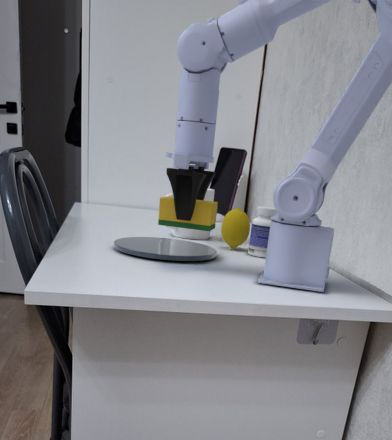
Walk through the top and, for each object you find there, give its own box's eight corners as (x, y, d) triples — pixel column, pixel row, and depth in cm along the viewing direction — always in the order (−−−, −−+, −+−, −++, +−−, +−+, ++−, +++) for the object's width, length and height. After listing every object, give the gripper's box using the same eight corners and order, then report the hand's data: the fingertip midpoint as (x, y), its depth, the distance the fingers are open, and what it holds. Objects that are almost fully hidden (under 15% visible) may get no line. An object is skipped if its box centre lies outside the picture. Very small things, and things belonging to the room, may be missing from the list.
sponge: (215, 228, 85) (217, 202, 84) (209, 231, 81) (212, 203, 80) (166, 222, 87) (168, 196, 85) (157, 224, 82) (159, 197, 81)
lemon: (236, 246, 111) (241, 206, 108) (252, 251, 106) (258, 210, 104) (213, 246, 108) (218, 205, 105) (229, 251, 103) (234, 208, 101)
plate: (223, 252, 103) (224, 245, 102) (204, 268, 86) (205, 260, 85) (132, 239, 106) (133, 233, 105) (97, 253, 89) (97, 245, 88)
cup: (217, 239, 117) (222, 191, 113) (170, 240, 110) (174, 188, 106) (194, 233, 123) (199, 186, 120) (149, 233, 116) (152, 183, 113)
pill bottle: (274, 259, 100) (281, 210, 97) (246, 255, 101) (252, 206, 98) (276, 255, 105) (283, 208, 102) (249, 251, 106) (255, 204, 103)
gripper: (182, 124, 86) (174, 211, 91) (155, 116, 73) (148, 219, 77) (225, 128, 85) (216, 217, 89) (206, 120, 72) (196, 225, 76)
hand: (187, 218), depth 83 cm, fingers closed on sponge, 4 cm apart
